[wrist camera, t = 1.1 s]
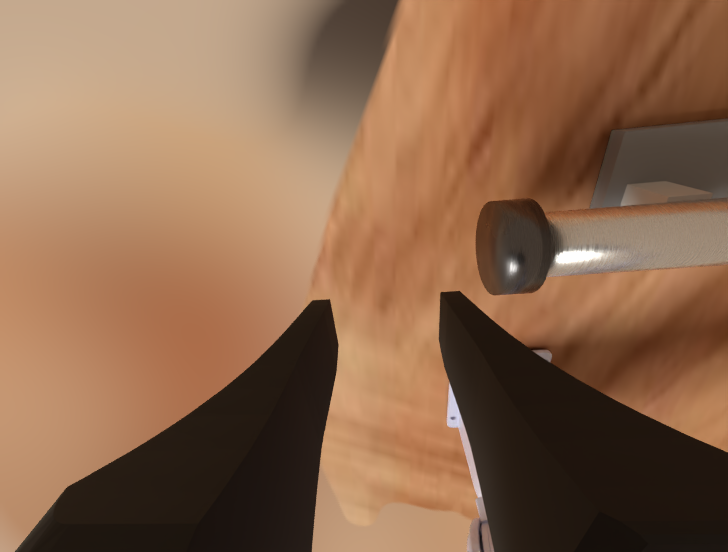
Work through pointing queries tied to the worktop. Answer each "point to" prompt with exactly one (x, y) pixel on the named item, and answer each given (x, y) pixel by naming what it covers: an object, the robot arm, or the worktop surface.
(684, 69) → the worktop surface
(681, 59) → the worktop surface
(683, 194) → the shaft stand
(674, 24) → the worktop surface
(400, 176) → the worktop surface
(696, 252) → the shaft
